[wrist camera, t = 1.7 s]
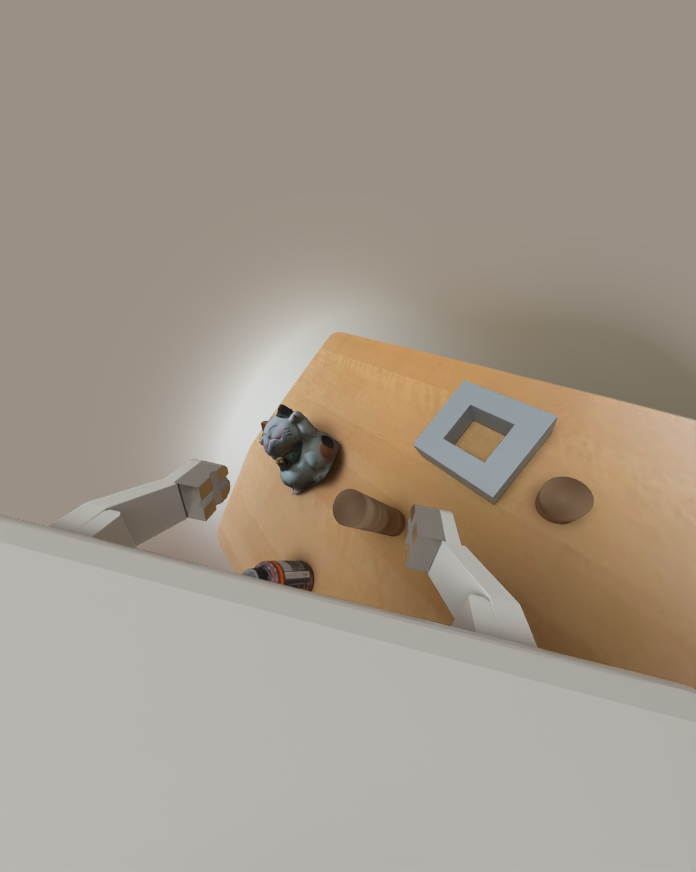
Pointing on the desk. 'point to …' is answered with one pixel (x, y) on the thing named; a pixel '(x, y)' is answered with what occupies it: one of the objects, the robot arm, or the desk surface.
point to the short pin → (563, 500)
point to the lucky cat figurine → (298, 448)
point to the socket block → (498, 413)
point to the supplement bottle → (284, 573)
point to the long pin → (367, 513)
